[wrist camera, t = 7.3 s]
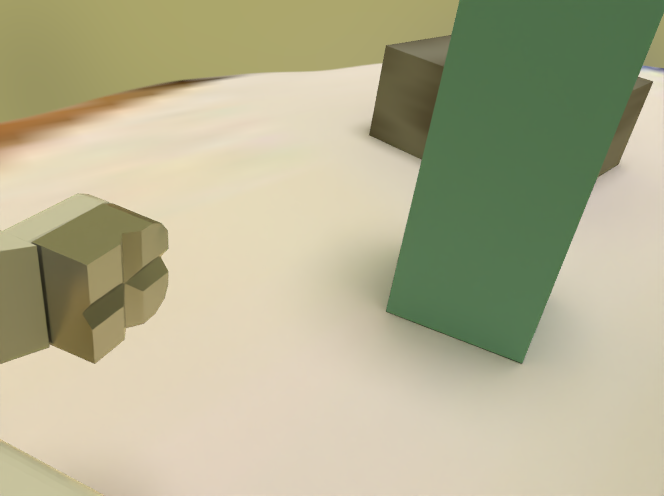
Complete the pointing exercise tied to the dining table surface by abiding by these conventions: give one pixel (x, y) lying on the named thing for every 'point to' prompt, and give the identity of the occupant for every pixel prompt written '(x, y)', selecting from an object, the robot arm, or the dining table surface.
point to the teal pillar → (514, 160)
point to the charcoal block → (421, 92)
